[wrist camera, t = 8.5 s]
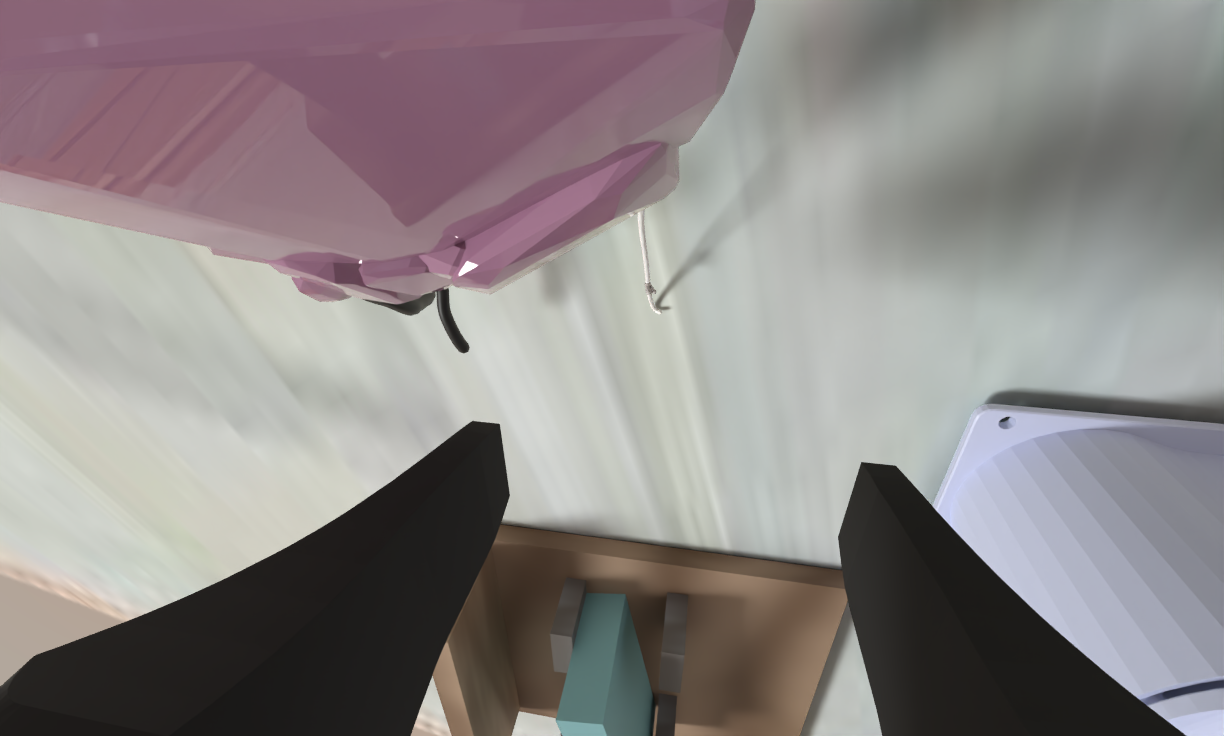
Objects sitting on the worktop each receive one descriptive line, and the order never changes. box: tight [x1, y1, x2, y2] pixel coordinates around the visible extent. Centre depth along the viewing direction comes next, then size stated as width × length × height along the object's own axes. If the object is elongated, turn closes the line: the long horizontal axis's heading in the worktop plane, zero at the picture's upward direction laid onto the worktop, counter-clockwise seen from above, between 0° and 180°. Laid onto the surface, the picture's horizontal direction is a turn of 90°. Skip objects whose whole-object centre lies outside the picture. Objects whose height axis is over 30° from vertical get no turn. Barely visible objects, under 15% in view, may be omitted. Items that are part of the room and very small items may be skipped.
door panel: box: [556, 593, 656, 736], centre depth 27 cm, size 2×10×6 cm, turn 11°
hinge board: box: [433, 524, 848, 736], centre depth 27 cm, size 18×16×6 cm
